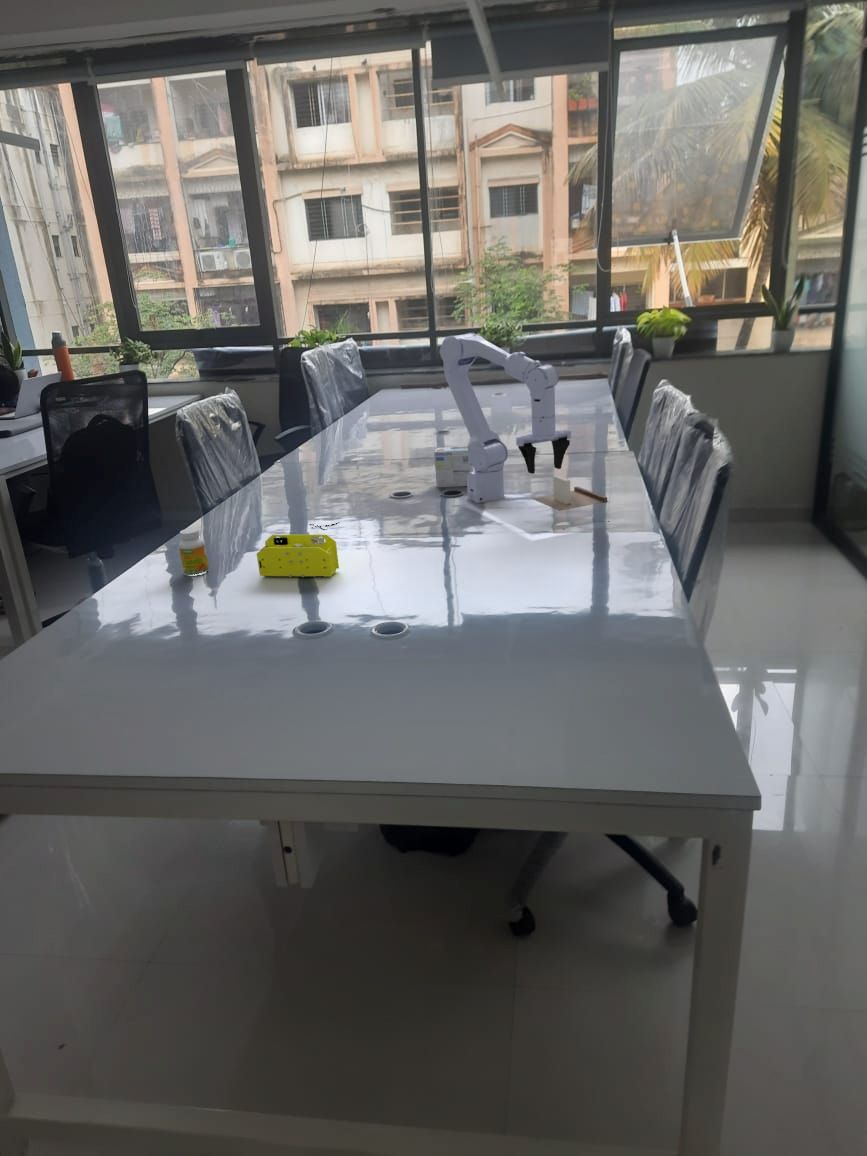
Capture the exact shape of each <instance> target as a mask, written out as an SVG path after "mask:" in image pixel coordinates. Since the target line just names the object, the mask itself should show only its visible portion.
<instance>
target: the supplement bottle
mask: <svg viewBox="0 0 867 1156" xmlns="http://www.w3.org/2000/svg"><path fill="white" fill-rule="evenodd" d="M179 535H180V536H179V537H180V539H181V541H179V544H178V550H179V553H180V560H181V565H182V569H183V570H182V571H183V574H184V573H185V574H187V575H193V574H194V575H195V574H199V573H202V572H205V571H207V570H208V569H209V570H210V566H209V561H208V556H207V550H206V545H205V540H204V539H203V538H202V537H200V536H201V534H200V530H199V529H198V528H196V527H191V528H185V529H181V530H180V531H179ZM185 574H184V575H185Z"/></svg>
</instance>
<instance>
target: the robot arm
mask: <svg viewBox="0 0 867 1156" xmlns="http://www.w3.org/2000/svg"><path fill="white" fill-rule="evenodd" d="M438 352H439V354H440V357H441V360H442V361H443V362H442V363H443V372H444V377H445V380H446V382H447V385H448V387H449V389H450V392H451V395H452V397H453V399H454V401H455V403H456V407H457V408H458V411H459V413H460V415H461V418H462V420H463V423H464V424H465V428H466V429H467V430H466V431H467V432H468V434H469V437H470V440H469V441H468V444H467V445H466V446H467V448H468V450H469V454H470V462H471V464H472V466H473V469H474V470H473V472H470V473H468V475H467V486H466V488H467V489H466V491H467V499H468V500H470V501H472V502H474V503H476V504H478V503H484V502H485V503H486V502H490V501H491V502H492V501H499V500H502V499H504V498H505V484H504V483H505V481H504V480H505V479H504V478H505V477H504V466H505V462H506V461H507V460H508V457H509V450H508V447H507V445H506V444H505V443H504V442H503V441H502V440H501V437H500V436H499V434H498V433H496V432H495V431H493V430H491V429H490V426H489V424H488V421H487V418H486V417H485V414H484V411H483V410H482V406H481V405H480V402H479V400H478V398H477V396H476V395H477V394H476V393H475V390H474V388H473V385H472V383H471V381H470V378H469V376H468V372H469V370H470V367H471V366H472V365H473V363H474V362H475V361H476V359H477V358H478V357H480V358H482V359H485V360H487V361H490V362H492V363H493V364H494V363H495V364H496V365H499V366H501V367H503V368H504V372H505V374H507V375H509V376H510V377H513V378H515V379H516V380H518V381H520V382H522V383H525V384H526V387H527V388H528V390H529V395H530V406H531V433H530V434H526V435H521V436H517V437H516V438H515V439H516V440H515V442H516V444H515V445H516V446H517V447H518V449H519V451H520V453H521V456H522V457H523V460H524V462H525V466H526V470H527V473H529V474H535V471H536V467H535V466H536V464H535V463H536V462H535V460H536V453H537V452H536V451H537V447H536V446H534V445H533V444H540V443H545V442H551V445H552V451H553V466H554V468H555V469H556V470H561V469H562V465H563V461H564V458H565V454H566V452H567V450H568V448H569V446H570V444H571V443H570V442H571V440H570V439H572V431H571V430H570V429H562V430H556V400H555V399H556V394H555V393H556V392H555V391H556V389H555V388H556V386H557V385H558V383H559V379H560V374H559V371H558V370H557V368H556V367H555V366H554V365H552V364H551V363H546V364H543V365H542V363H541V361H540V360H538V359H537V360H534V359H532V358H530V357H527V356H526V353H525V352H523V351H518V352H517V351H516V352H513V353H509V352H507V351H506V350H504V349H502V348H501V347H498V346H497V345H495V344H493V343H491V342H490V341H488V340H486V339H484V337H483V336H481V335H477V334H476V333H475V332H468V333H465V334H458V335H448V336H446V337H444V339H443V340H442V343H441V346H440V348H439V351H438Z"/></svg>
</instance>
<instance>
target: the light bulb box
mask: <svg viewBox="0 0 867 1156" xmlns="http://www.w3.org/2000/svg"><path fill="white" fill-rule="evenodd" d="M467 446H468V445H463V446H448V447H445V446H444V447H436V449H435V450H434V452H433V454H434V466H435V467H434V468H435V480H436V488H452V487H453V488H454V487H455V488H456V487H467V475H468V473H470V472H473V471H474V467H473V466H472V464H471V462H470V454H469V450H468V448H467Z"/></svg>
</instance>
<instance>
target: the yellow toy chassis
mask: <svg viewBox="0 0 867 1156" xmlns="http://www.w3.org/2000/svg"><path fill="white" fill-rule="evenodd" d="M264 544H265V546H263V548H261V549H260V550H259V551H258V552H256V558H257V564H258V573H259V576H260V577H261V576H263V577H275V576H279V577H289V578H292V577H301V578H304V577H316V576H324V577H332V576H333V575H334V574H335V573H336V571H337V569H340V567H339V566H340V564H339V559H338V557H339V556H338V550H337V549H338V548H337V542H336V540H335V539H333V538H332V537H331V536H329V535H328V534H271V535H270V536H269V537H268V538H267V539H266V540H265V541H264Z"/></svg>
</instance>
